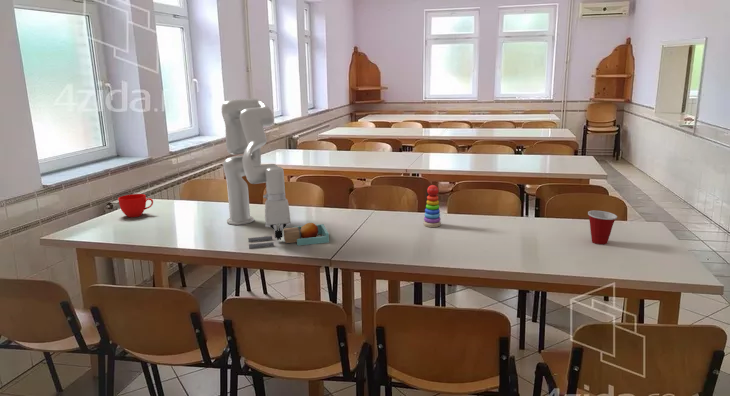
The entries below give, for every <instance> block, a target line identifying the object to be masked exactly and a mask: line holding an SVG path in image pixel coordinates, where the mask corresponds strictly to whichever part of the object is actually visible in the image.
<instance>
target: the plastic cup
mask: <svg viewBox="0 0 730 396" xmlns="http://www.w3.org/2000/svg"><path fill="white" fill-rule="evenodd" d="M587 215H588V218H589V228H590V229H589V230H590V236H591V243H593V244H596V245H607V244H608V242H609V239H610V235H611V232H612V229H613V225H614V223H615V222H616V220H617V218H618V215H616V214H615V213H613V212H609V211H604V210H603V211H602V210H589V211H587Z"/></svg>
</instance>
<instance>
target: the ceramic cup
mask: <svg viewBox="0 0 730 396" xmlns="http://www.w3.org/2000/svg"><path fill="white" fill-rule="evenodd" d="M148 201H150V202H151V204H150V205H149V206H147V207H146V205H147V202H148ZM118 204H119V209H120V210H121V212H122V213H123V214H124V215H125V216H127V217H128V218H139V217H141V216H142V214H143V213H144V212H145V210H147V209H149V208H151V207H152V206H153V205H154V199H152V198H151V197H150V198H149V197H147V195H146V194H145V193H143V194H142V193H132V194H125V195H122V196H118Z"/></svg>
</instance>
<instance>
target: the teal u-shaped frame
mask: <svg viewBox="0 0 730 396" xmlns="http://www.w3.org/2000/svg"><path fill="white" fill-rule="evenodd" d="M315 225H316V226H317V227H318V234H317V235H321V236H317V237H311V238H302V237H301V239H297V242H296V245H297V246H305V245H307V246H308V245H315V244H326V243H327V244H328V243H330V237H329V235H330V233H329V231H328V230H327V228H326V227H325V225H324V223H319V224H318V223H317V224H315ZM302 226H303V225H300V226H299V225H298V226H293V227H292V228H294V227H298V228H299V229H301V227H302Z"/></svg>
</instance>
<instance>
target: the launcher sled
mask: <svg viewBox="0 0 730 396" xmlns="http://www.w3.org/2000/svg"><path fill="white" fill-rule="evenodd" d="M293 227H294V228H293ZM293 227H286V228H285V227H284V229H283V239H284V243H285V244H292V243H297V239H301V238H302V237H301V232H300V229H299V228H298V227H296V226H293Z"/></svg>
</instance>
